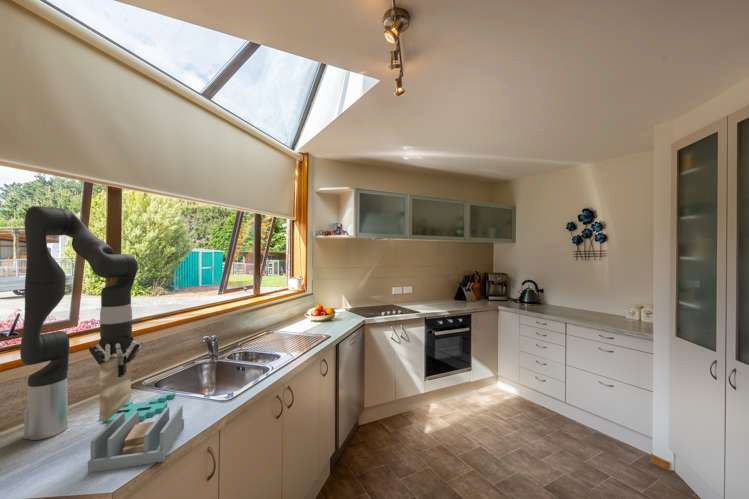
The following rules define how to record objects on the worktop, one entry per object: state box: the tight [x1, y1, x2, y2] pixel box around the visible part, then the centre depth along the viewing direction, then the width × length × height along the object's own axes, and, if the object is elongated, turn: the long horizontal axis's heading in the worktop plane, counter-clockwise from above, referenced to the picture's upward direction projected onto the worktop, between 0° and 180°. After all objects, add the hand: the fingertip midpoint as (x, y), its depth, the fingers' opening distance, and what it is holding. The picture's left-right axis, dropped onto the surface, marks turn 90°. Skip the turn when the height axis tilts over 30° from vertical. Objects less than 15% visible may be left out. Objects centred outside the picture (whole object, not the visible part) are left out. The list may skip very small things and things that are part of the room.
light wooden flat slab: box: [99, 349, 132, 422], centre depth 96 cm, size 2×13×16 cm, turn 14°
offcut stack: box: [122, 420, 155, 455], centre depth 98 cm, size 6×12×5 cm, turn 21°
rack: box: [87, 405, 185, 474], centre depth 97 cm, size 18×18×8 cm
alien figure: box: [98, 391, 176, 426], centre depth 119 cm, size 20×2×20 cm
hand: (116, 376), depth 96 cm, fingers closed on light wooden flat slab, 2 cm apart
